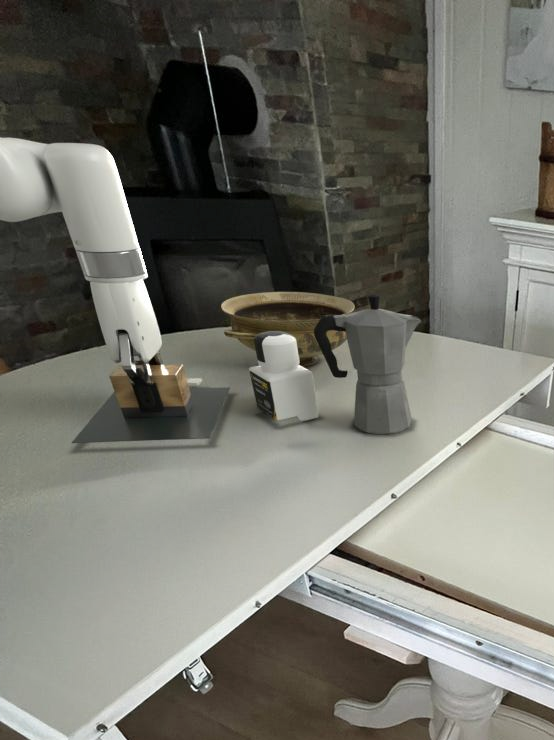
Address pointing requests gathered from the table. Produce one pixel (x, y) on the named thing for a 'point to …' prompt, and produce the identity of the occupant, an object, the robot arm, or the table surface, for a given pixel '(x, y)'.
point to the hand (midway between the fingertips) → (157, 403)
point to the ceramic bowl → (286, 318)
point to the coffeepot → (373, 364)
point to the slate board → (156, 421)
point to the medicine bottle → (282, 378)
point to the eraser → (169, 386)
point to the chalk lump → (194, 381)
